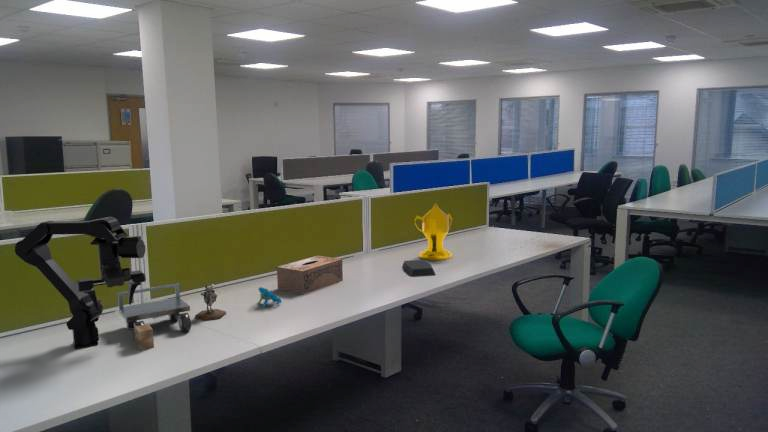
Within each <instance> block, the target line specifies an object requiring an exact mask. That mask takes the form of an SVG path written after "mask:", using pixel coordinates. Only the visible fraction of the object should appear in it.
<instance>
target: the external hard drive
mask: <svg viewBox="0 0 768 432" xmlns="http://www.w3.org/2000/svg"><path fill="white" fill-rule="evenodd" d="M401 268H402V270H403V271H404V272H405V273H406V274H407V275H408V276H409V277H423V276H424V277H425V276H436V272H435V269H434V266H433V265H432V264H431V262H429V260H427V259H414V260H413V259H412V260H404V262H403V263H402V267H401Z"/></svg>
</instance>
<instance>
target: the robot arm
mask: <svg viewBox="0 0 768 432" xmlns="http://www.w3.org/2000/svg"><path fill="white" fill-rule="evenodd" d="M53 235H84V236H85V235H86V236H90V238H91V237H92V238H93V240H92V241H90V242H89V244H90V245H92V246H96V245H97V249H98V251H97V253H98V261H99V271H100V278H99V279H98V278H96V279H92V277H83V278H78V279H77V280H76V282H74V281H73V280H72V279H71V278H70V277H69V275H68V274H67V273H66V272H65V271H64V270H63V268H61V267H60V265H59V264H58V263H57V262H56V261H55V260H54V259H53V257H52V254H51V250H50V249H51V248H50V247H49V245H48V244H49V242H51V240H52V239H53ZM14 253H15V255H16V256H17V257H18V258H19V259H21V260H22V261H23V262H24V263H26V264H28V265H31V266H33V267H35V268H36V269H37V270H38V271H39V272H40V273H41V274H42V276H43V277H45V278H46V280H48V282H50V284H51V285H52V287H54V288H55V290H56V291H58V293H59V294H60V295H61V296H62V297H63V298H64V299H65V300H66V301H67V303H68V308H69V312H70V313H71V315H72V317H70V319H69V320H68V321H67V322H66V323H65V324H66V326H67V329H68V330H70V331H71V330H72V332H71V333H72V345H73V348H74V349H75V350H77V349H82V348H88V347H92V346H97V345H99V341H100V337H99V328H98V327H97V326H96V323H95V322H98V321H99V318H100V316H101V315H102V314H103V309H104V306H103V305H102V300H101V299H99V298H98V297H97V295H96V290H95V289H94V287H95V286H103V285H105V286H106V287H107V288H113V287H118V286H119V287H123V286H124V285H125V282H127V291H128V294H127V303H128V306H132V301H133V297H134V294H135V293H134V292H135V290H137V288H138V286H141V285H142V283H144V282H146V274H145V273H144V272H143V271H142V270H133V271H131V269H130V267H125V268H122V266H121V259H143V258H144V256H145V254H146V244H145V242H144V240H142V236H141V235H134V236H129V234H128V233H127V232H126V230H125V229H124V228H123V227H122V226H121V224H120V222H119V220H118V219H117V218H116V217H114V216H107V217H102V218H97V219H92V220H70V221H69V220H67V221H65V220H64V221H63V220H60V221H59V220H57V221H54V220H47V221H43V222H40V223H39V224H38V225H37V226H36V227H35V228H34V229H33V230H32V231H31V232H29V233H28V234H27V235H25V237H23V239H21V240H19V241H17V242H16V244H15V246H14Z"/></svg>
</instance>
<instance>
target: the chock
mask: <svg viewBox="0 0 768 432" xmlns="http://www.w3.org/2000/svg"><path fill="white" fill-rule="evenodd" d="M144 324H145V323H144ZM134 337H136V338H135V345H136V346H137V348H138V349H139V351H144V350H149V349H154V348H155V344H154V343H155V342H154V341H155V340H154V329H153V328H152V327H151V325H150V324H149V323H146V324H145V325H139V326H135V334H134Z"/></svg>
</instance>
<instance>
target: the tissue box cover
mask: <svg viewBox="0 0 768 432" xmlns="http://www.w3.org/2000/svg"><path fill="white" fill-rule="evenodd" d="M276 274H277V275H276V278H277V290H279V291H286V292H290V293H294V294H298V295H299V294H301V295H305V294H308V293H312V292H314V291H317V290H320V289H324V288H325V287H328V286H331V285H334V284H337V283H340V282H343V281H344V279H343V277H344V276H343V259H342V258H338V257H337V258H336V257H330V256H323V255H314V256H311V257H306V258H303V259H301V260H296V261H293V262H289V263H286V264H282V265H279V266H276Z"/></svg>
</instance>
